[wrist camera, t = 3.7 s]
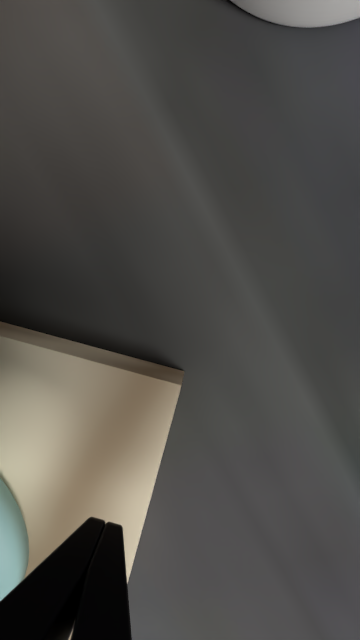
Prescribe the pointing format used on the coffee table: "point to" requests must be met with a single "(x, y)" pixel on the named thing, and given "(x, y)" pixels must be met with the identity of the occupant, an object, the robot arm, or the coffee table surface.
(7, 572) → the flange
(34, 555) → the post board
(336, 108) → the coffee table surface
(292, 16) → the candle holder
